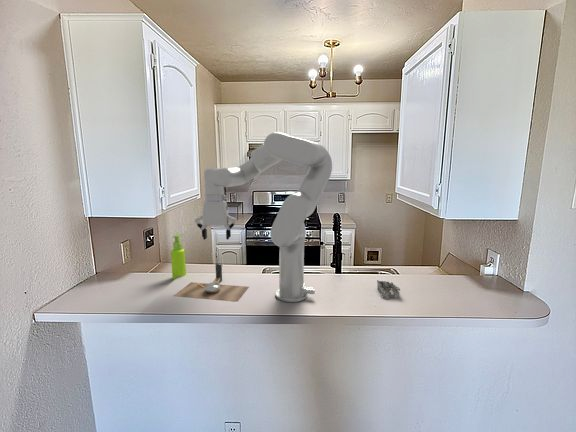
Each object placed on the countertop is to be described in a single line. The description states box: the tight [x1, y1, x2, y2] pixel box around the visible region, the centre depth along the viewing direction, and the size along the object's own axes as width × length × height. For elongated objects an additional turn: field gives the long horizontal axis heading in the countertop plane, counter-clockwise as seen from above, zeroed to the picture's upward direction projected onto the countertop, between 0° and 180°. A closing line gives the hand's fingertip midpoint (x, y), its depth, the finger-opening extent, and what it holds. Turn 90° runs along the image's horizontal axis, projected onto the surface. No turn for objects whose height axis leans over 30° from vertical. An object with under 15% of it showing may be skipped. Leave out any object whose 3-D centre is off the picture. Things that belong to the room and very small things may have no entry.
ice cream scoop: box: [205, 262, 223, 294], centre depth 124 cm, size 15×6×7 cm, turn 179°
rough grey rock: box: [376, 280, 401, 299], centre depth 122 cm, size 11×8×4 cm
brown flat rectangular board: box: [173, 282, 250, 303], centre depth 120 cm, size 26×14×2 cm, turn 79°
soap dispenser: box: [170, 233, 187, 280], centre depth 138 cm, size 6×7×20 cm
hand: (216, 238), depth 128 cm, fingers open, 9 cm apart
